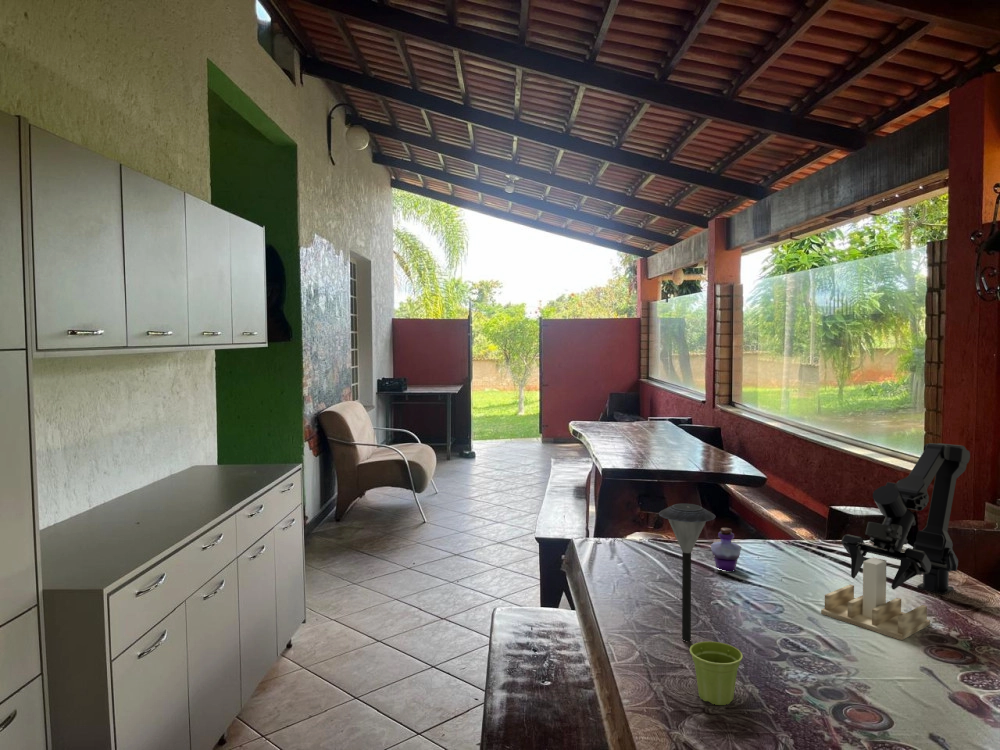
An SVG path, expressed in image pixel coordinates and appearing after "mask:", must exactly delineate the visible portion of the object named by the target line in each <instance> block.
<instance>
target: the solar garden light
mask: <svg viewBox="0 0 1000 750" xmlns="http://www.w3.org/2000/svg"><path fill="white" fill-rule="evenodd" d="M658 515H659V517H661V518H664V519H667V520H668V522H669V524H670V526H671V529H672V532H673V534H674V537H675V538H676V540H677V542H678V545H679V547H680V549H681V554H682V555H681V556H682V557H681V558H682V559H681V561H682V562H681V564H682V565H681V566H682V567H681V568H682V573H681V574H682V575H681V577H682V578H681V580H682V582H681V583H682V584H681V585H682V586H681V588H682V589H681V590H682V591H681V593H682V595H681V596H682V597H681V598H682V599H681V601H682V602H681V607H682V608H681V609H682V612H681V613H682V615H681V617H682V618H681V623H682V624H681V626H682V627H681V639H683V640H685V641H690V640H691V641H692V636H691V635H692V552H693V550H694V547H695V545H696V543H697V541H698V539H699V537H700V535H701V533H702V530H703V529H704V527H705V525H706V522H710V521H713V520H715V518H717V517H716V515H715V514H714V513H712V511H710V510H708V509H706V508H704V507H702V506H701V505H697V504H694V503H676V504H673V505H670V506H668V507H666V508H664V509H662V510H661V511H659V512H658ZM683 640H682V641H683ZM685 641H684V642H685ZM691 641H690V642H691Z"/></svg>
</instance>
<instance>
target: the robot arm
mask: <svg viewBox="0 0 1000 750" xmlns="http://www.w3.org/2000/svg"><path fill="white" fill-rule="evenodd" d="M970 459H971V453H970V450H968V449H967V448H966V447H965V446H964V445H962V444H961V445H960V444H950V443H939V442H938V443H931V442H928V443H925V444H924V446H923V452H922V454H921V455H920V457H918V460H917V462H916V463H915V465H914V466H913V468H912V470H911V471H910V473H909V474H908V476H906V477H904V478H901V479H899V480H898V481H897V482H888V481H887V482H886V483H885V485H882V486H879V487H878V488H876V489H875V490H873V492H872V499H873V501H874V503H875V504H876V506H877V508H878V510H879V511H880V513H881V515H883V516H884V517H885V518H884V519H883V521H882V523H877V522H873V521H868V522H867V525H866V529H865V533H864V534H865V536H868V537H870V538H869V541H870V542H871V543H873V545H872V544H870V543H869V544H868V543H865V541H864V540H863V538H862V537H861V536H857V535H852V534H849V533H848V534H845V535H843V536H842V538H841V541H840V544H842V546H843V547H844V550H845V551H846V553H847V554H849V555H850V559H851V560H850V567H851V568H850V577H851V578H852V579H855V578H856V577H857V576H858V574H859V572H860V570H861V568H862V566H863V561H866V560H865V557H866V556H867V553H869V554H874V555H876V556H881V557H884V558H885V557H886V558H890V559H893V560H898V561H900V564H899V567H898V570H897V571H896V574H895V576H894V578H893V580H892V583H891V585H890V587H891V589H892V590H896V589H897V588H898V587H900V586H902V585H903V584H905V582H907V581H908V580H910V579H912V578H914V577H916V576H922V583H920V584H918V585H917V588H918V589H921V590H926V591H929V592H933V593H935V594H941V595H946V594H947V593H950V592H951V591H953V590H954V589H955V588H954V587H953V586H950V585H949V580H950V579H949V573H950V572H957V571H958V566H959V559H958V557H957V555H956V554H955V552H954V550H953V546H954V545H953V541H952V538H951V537H950V534H949V532H948V531H949V524H950V520H951V518H950V517H951V512H952V506H953V501H954V497H955V496H954V495H955V489H956V484H957V479H958V478H959V477H960V476H961V475H962V474H964V473H965V471H966V469H967V467H968V464H969V462H970ZM933 480H934V482H933ZM932 482H933V487H932V488H933V489H932V493H931V500H929V499H930V496H929V494H928V488H929V486H930V485H931V483H932ZM929 501H930V503H929ZM928 503H929V508H928V509H929V511H928V517H927V522H926V525H925V527H924V528H922V530H920V529H919V530H918V531H916V532H917V533H916V536H915V537H916V538H915V541H914V543H913V546H912V548H911V547H910V548H909V547H907V548H905V550H904V551H902V550H903V547H904V545H908V541H909V540H908V539H907V537H908V535H909V533H910V530H911V528H912V526H916V523H917V522H916V520H915V519H916V518H915V515H914V514H913V512H912V511H918V512H919V511H923V510H924V509H925V508H926V507H927V506H928ZM911 510H912V511H911Z"/></svg>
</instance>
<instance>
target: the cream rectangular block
mask: <svg viewBox="0 0 1000 750" xmlns="http://www.w3.org/2000/svg"><path fill="white" fill-rule="evenodd" d="M862 566H863V567H862V595H863V616H866V617H870V618H872V609H874V608H876V607H878V606H880V605H883V604H885V603H887V599H886V598H887V560H886V559H881V558H877V557H871V558H868V559H866V560H865V561H863V564H862Z"/></svg>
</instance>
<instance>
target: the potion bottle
mask: <svg viewBox="0 0 1000 750" xmlns="http://www.w3.org/2000/svg"><path fill="white" fill-rule="evenodd" d="M732 531H733V529H732V528H729V527H721V528H720V531H719V532H718V533H717V537H718V538H719V539H720V541H714V542H713V543H711V544H710V548H711V554H712V555H713V559H714V563H715V568H716V567H717V568H719V569H722V570H726V571H733V570H735V571H736V568H737V564H738V560H739V558H740V555H741V552H742V551H741V550H742V546H741V545H739V544H737V543H735V542H732V540H733V539H734V538H735V533H733V532H732Z"/></svg>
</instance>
